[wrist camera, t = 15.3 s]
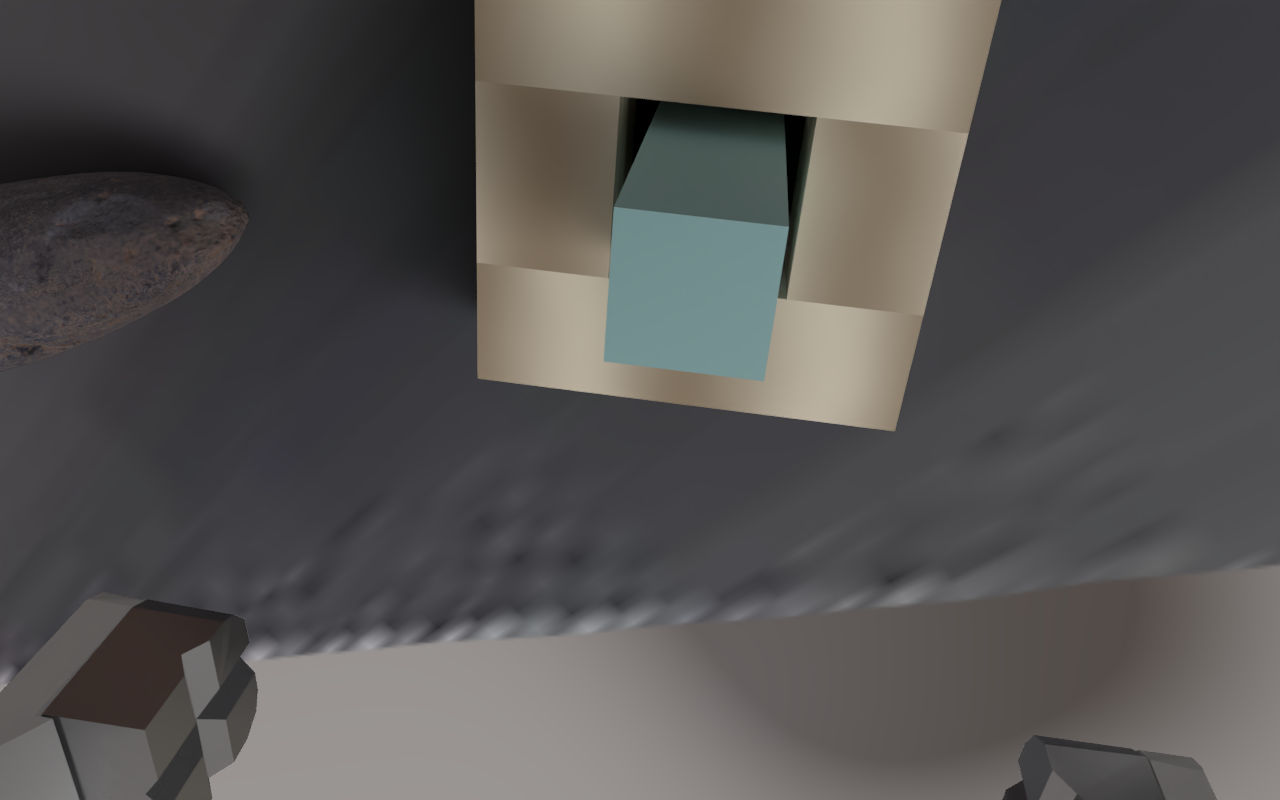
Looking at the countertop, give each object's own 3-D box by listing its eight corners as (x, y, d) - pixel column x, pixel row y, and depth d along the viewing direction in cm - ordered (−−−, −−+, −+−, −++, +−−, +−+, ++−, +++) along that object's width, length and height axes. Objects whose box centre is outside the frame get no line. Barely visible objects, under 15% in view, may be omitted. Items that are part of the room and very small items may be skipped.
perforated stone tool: (251, 112, 29) (116, 182, 23) (316, 273, 32) (210, 373, 26) (-147, 200, 32) (-355, 281, 26) (-59, 340, 35) (-232, 443, 29)
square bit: (783, 106, 27) (789, 226, 19) (766, 221, 29) (764, 381, 20) (664, 93, 27) (613, 206, 19) (653, 209, 29) (603, 361, 21)
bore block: (976, -48, 25) (1009, -31, 21) (881, 365, 31) (894, 431, 27) (514, -92, 26) (474, -82, 22) (509, 320, 32) (477, 378, 28)
